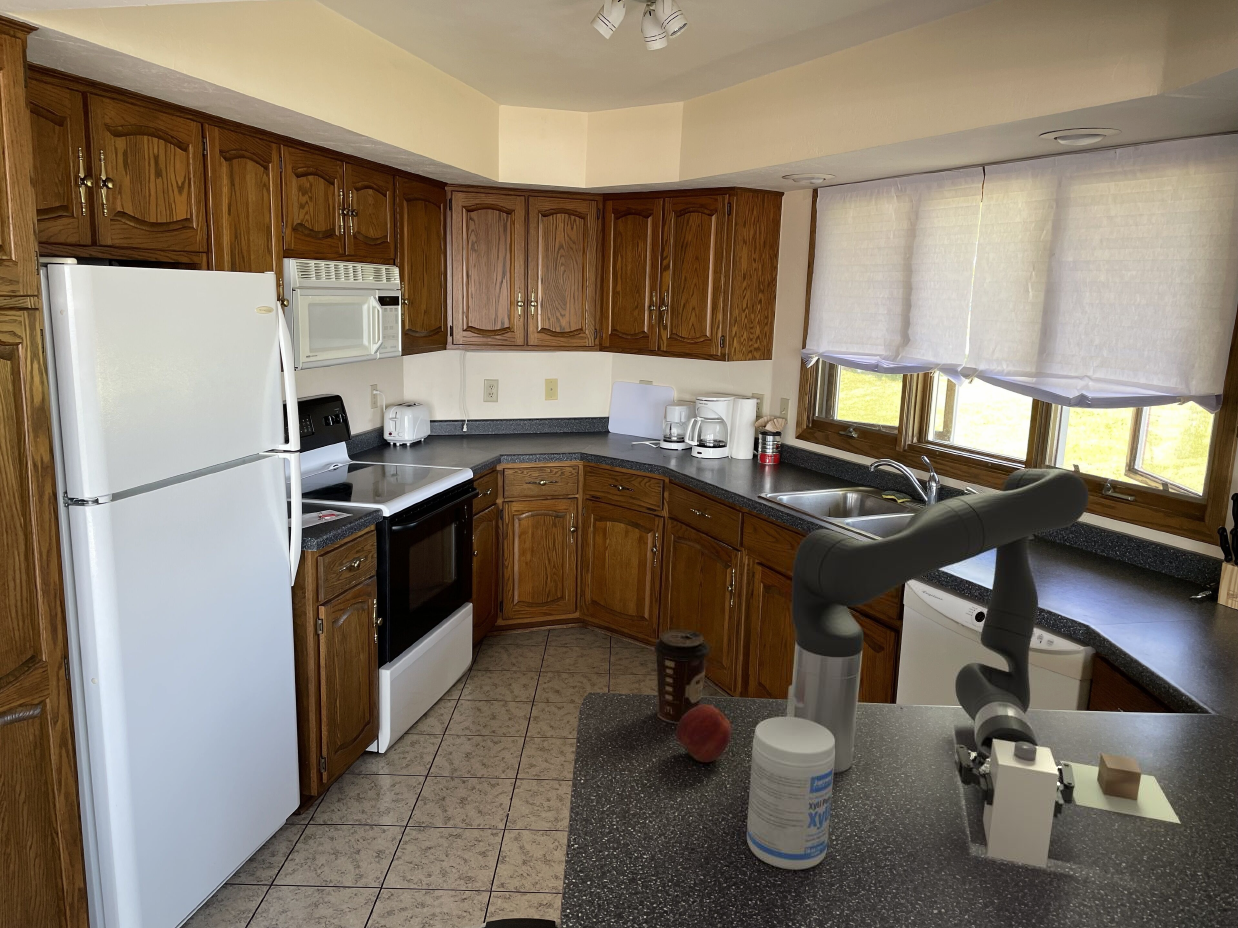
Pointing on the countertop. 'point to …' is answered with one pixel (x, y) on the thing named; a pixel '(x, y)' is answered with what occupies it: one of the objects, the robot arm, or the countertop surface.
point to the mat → (1147, 803)
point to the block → (1119, 776)
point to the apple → (704, 733)
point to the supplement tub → (790, 792)
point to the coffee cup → (679, 672)
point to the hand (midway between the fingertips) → (1022, 803)
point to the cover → (1020, 802)
